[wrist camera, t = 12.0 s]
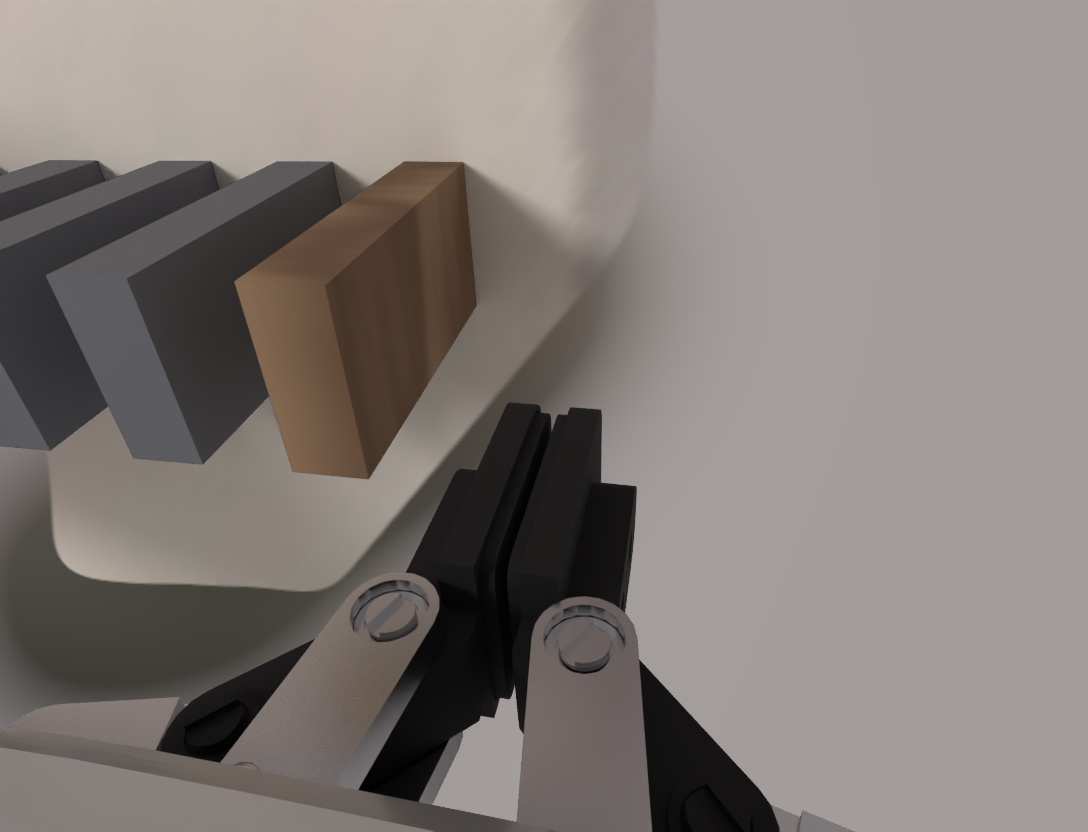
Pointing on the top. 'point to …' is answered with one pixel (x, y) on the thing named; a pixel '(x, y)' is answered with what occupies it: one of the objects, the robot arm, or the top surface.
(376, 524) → the top surface
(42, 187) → the domino
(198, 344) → the domino
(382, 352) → the domino
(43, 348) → the domino
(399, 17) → the top surface
